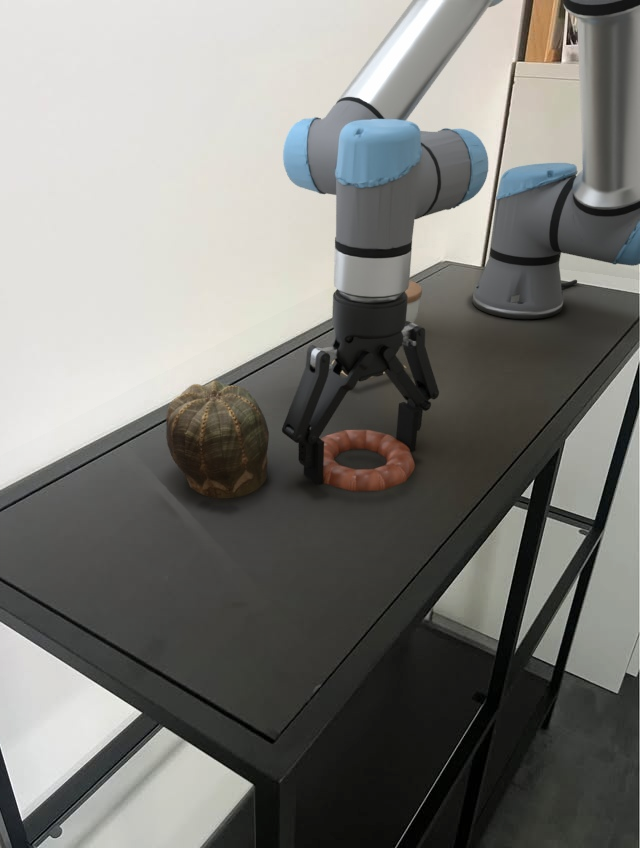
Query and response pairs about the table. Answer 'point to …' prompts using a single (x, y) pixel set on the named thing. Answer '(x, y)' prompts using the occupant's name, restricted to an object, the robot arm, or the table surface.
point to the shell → (218, 439)
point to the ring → (366, 479)
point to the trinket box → (413, 301)
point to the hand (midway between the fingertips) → (360, 471)
